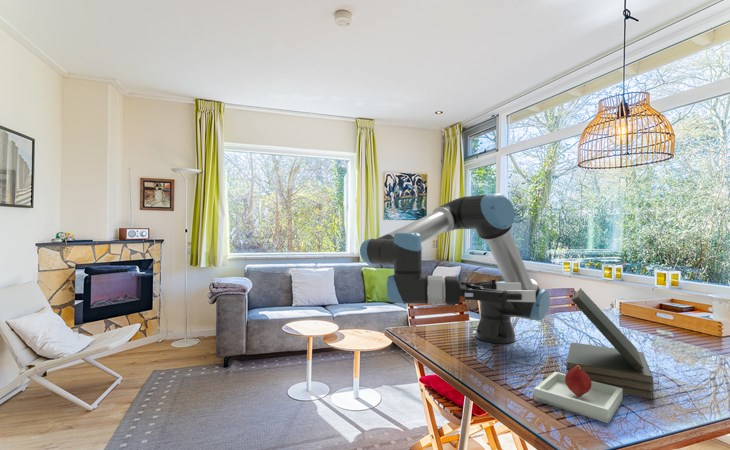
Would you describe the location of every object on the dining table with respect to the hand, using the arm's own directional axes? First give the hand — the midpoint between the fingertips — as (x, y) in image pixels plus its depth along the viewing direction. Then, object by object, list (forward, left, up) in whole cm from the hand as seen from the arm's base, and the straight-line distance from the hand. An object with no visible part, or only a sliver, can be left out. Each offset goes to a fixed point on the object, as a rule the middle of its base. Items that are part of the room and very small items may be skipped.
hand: (527, 291), depth 93 cm
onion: (+9, +8, -27) cm, 29 cm away
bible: (+11, +31, -28) cm, 43 cm away
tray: (+9, +8, -28) cm, 30 cm away
